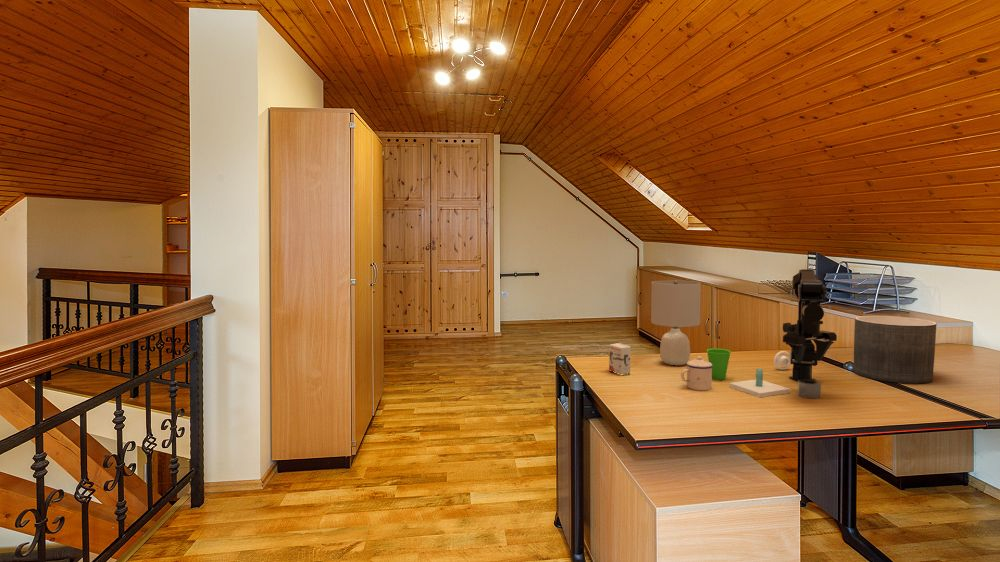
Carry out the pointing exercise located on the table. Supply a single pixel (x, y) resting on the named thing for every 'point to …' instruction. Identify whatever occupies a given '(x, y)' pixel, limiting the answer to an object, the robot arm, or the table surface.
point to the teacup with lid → (698, 374)
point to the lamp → (675, 316)
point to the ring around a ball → (782, 360)
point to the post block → (759, 386)
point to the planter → (894, 349)
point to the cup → (718, 362)
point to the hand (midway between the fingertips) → (808, 361)
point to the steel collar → (809, 388)
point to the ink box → (619, 358)
